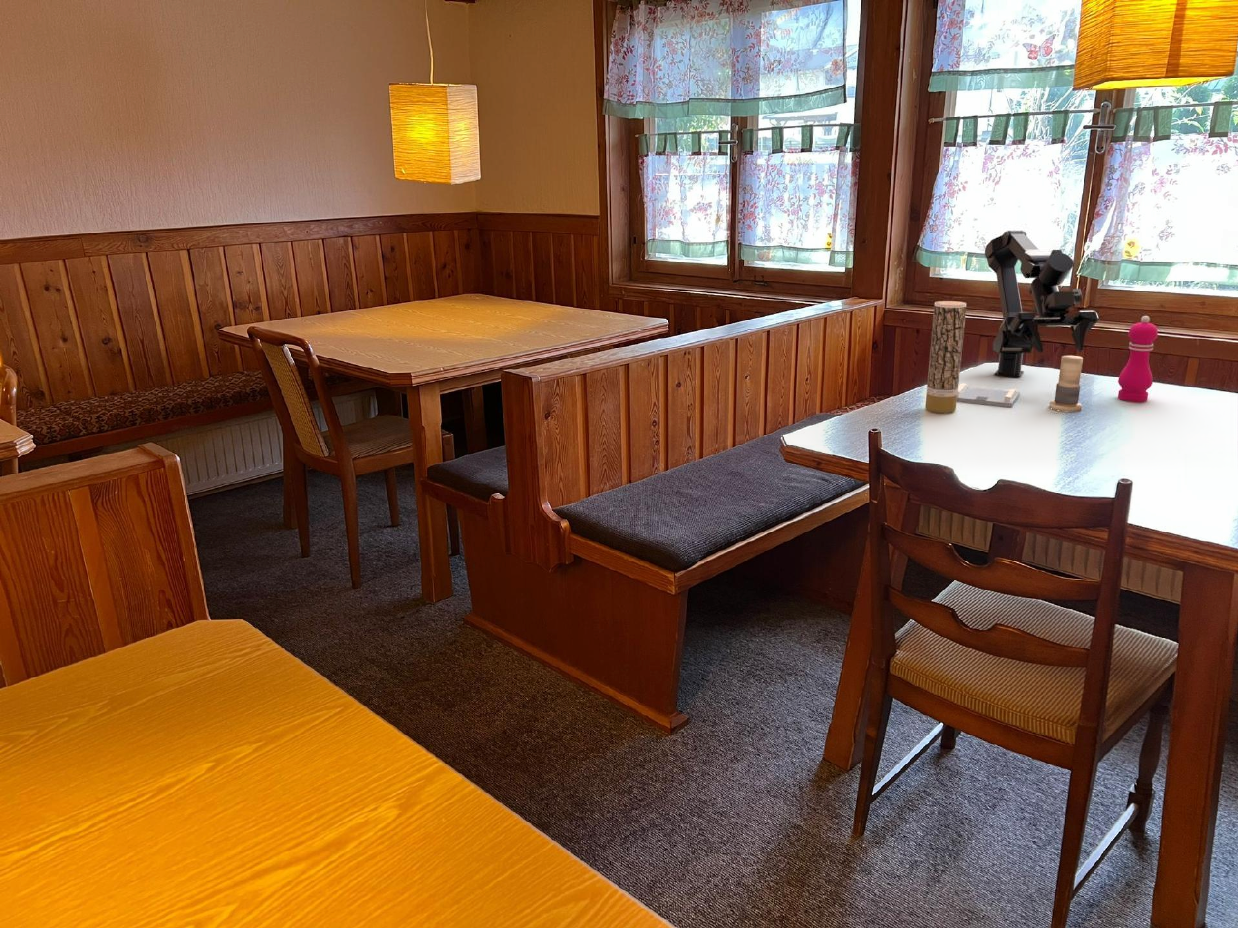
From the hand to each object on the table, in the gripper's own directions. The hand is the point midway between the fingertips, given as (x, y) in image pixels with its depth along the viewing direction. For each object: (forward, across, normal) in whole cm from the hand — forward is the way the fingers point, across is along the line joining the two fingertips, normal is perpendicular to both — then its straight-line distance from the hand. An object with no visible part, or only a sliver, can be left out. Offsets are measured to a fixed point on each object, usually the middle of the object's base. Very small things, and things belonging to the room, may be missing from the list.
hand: (1061, 351), depth 214 cm
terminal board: (+6, -15, +12) cm, 20 cm away
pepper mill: (+8, +19, +10) cm, 23 cm away
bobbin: (+13, 0, +4) cm, 13 cm away
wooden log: (+13, -29, +4) cm, 32 cm away
